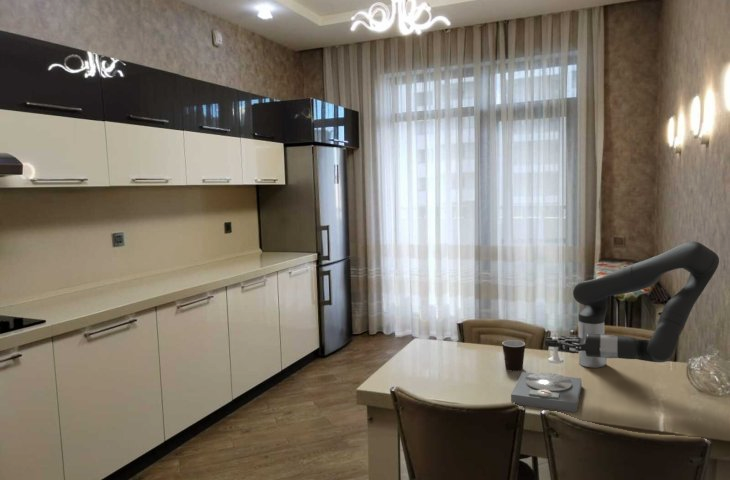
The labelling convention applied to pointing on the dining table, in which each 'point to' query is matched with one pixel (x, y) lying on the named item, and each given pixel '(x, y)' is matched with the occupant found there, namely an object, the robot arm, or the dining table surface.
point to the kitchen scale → (547, 391)
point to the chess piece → (555, 353)
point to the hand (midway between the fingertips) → (546, 341)
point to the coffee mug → (513, 354)
